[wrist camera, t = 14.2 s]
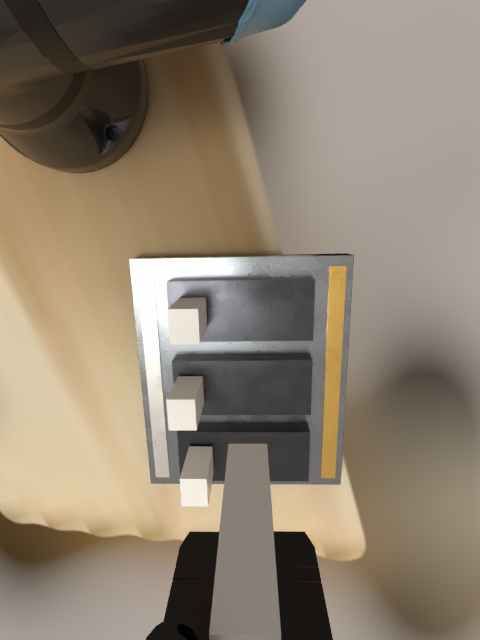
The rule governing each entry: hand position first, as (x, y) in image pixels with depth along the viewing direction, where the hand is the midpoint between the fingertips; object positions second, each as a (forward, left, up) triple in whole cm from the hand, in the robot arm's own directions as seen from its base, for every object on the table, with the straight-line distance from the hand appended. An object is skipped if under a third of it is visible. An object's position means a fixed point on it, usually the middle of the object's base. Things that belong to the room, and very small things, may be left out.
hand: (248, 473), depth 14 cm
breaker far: (+14, -5, -21) cm, 26 cm away
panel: (+6, -1, -25) cm, 26 cm away
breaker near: (-2, -5, -21) cm, 21 cm away
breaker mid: (+6, -6, -21) cm, 22 cm away
